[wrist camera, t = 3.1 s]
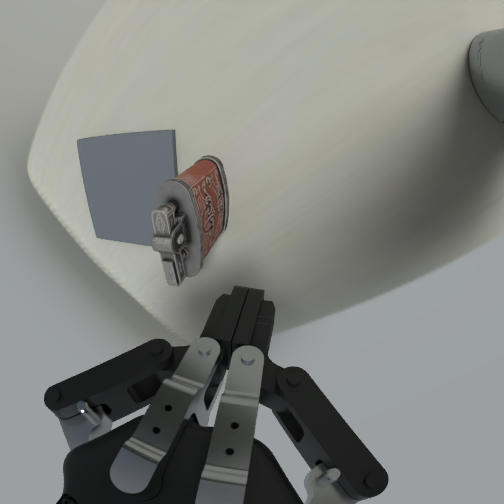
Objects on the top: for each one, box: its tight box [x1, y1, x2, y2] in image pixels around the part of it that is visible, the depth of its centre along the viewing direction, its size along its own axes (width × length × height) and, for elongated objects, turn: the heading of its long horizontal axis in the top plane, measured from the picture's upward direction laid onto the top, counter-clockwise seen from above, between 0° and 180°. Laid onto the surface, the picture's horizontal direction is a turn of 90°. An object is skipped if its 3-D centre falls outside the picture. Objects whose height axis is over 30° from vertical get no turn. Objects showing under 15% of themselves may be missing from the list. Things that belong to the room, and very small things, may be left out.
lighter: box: [151, 155, 229, 287], centre depth 22 cm, size 8×3×10 cm, turn 1°
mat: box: [77, 130, 178, 246], centre depth 28 cm, size 13×13×1 cm
